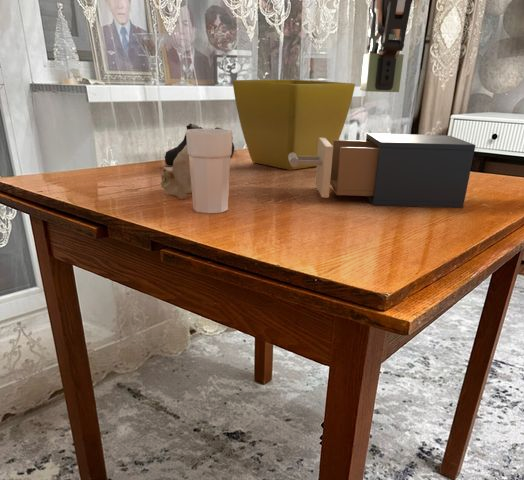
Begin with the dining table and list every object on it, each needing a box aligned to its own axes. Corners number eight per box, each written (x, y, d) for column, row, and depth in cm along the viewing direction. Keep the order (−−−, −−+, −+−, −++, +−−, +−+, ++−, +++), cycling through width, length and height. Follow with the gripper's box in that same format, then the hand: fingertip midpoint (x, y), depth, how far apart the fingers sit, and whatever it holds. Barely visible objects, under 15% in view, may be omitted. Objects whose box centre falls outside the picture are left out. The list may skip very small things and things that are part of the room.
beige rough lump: (167, 177, 95) (191, 127, 89) (197, 199, 95) (223, 150, 89) (143, 189, 88) (167, 136, 82) (175, 213, 88) (202, 161, 82)
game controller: (231, 186, 110) (248, 139, 109) (207, 173, 105) (225, 123, 104) (183, 174, 121) (199, 131, 119) (160, 162, 115) (176, 116, 114)
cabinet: (373, 205, 87) (380, 142, 83) (360, 189, 98) (366, 133, 94) (463, 208, 87) (475, 144, 83) (440, 191, 98) (450, 135, 94)
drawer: (288, 196, 87) (291, 145, 83) (286, 183, 97) (288, 136, 93) (404, 199, 87) (412, 148, 84) (390, 186, 97) (396, 139, 94)
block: (391, 90, 75) (396, 54, 73) (399, 92, 71) (404, 54, 69) (360, 90, 75) (363, 53, 73) (366, 91, 71) (369, 53, 69)
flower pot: (289, 174, 110) (294, 82, 102) (230, 161, 122) (230, 78, 114) (349, 166, 121) (357, 83, 113) (289, 155, 134) (293, 79, 126)
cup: (234, 205, 84) (234, 129, 79) (230, 215, 79) (230, 134, 73) (192, 203, 85) (189, 127, 79) (185, 213, 79) (181, 132, 74)
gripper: (446, -82, 59) (421, 92, 67) (412, -56, 72) (394, 88, 80) (378, -84, 59) (361, 90, 67) (356, -58, 71) (344, 86, 79)
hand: (379, 88), depth 73 cm, fingers closed on block, 4 cm apart
